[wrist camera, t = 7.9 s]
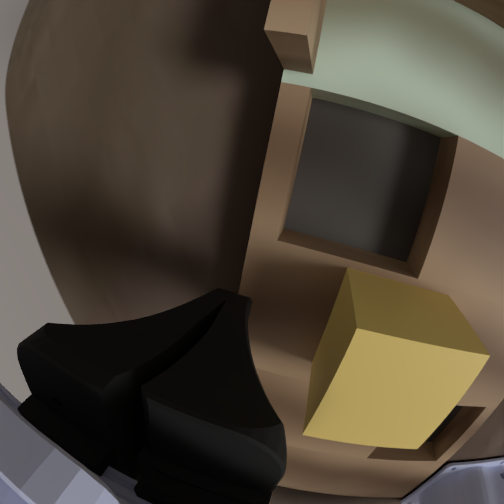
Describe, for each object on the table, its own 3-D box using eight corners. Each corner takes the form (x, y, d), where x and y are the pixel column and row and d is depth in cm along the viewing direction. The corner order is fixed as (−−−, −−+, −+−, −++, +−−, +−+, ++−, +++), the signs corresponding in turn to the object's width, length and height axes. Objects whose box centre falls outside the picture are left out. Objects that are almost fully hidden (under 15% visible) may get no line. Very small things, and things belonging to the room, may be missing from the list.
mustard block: (403, 380, 11) (417, 449, 7) (311, 361, 12) (302, 434, 8) (449, 295, 10) (490, 355, 6) (347, 267, 10) (357, 327, 7)
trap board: (400, 478, 16) (402, 531, 11) (213, 446, 19) (188, 501, 14) (576, 96, 6) (635, 93, 1) (313, -32, 8) (300, -108, 3)
